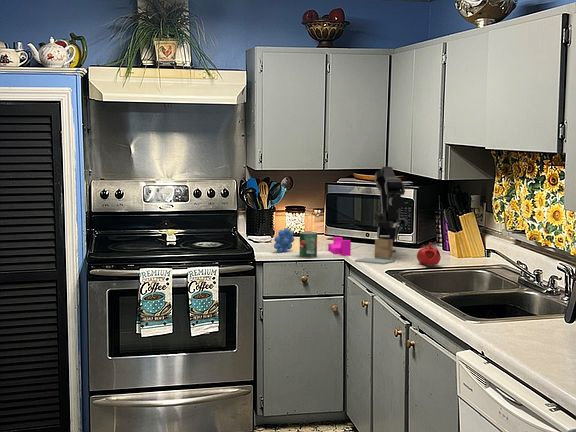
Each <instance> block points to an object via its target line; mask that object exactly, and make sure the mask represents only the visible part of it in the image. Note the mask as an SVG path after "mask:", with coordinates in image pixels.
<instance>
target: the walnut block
mask: <svg viewBox="0 0 576 432" xmlns="http://www.w3.org/2000/svg"><path fill="white" fill-rule="evenodd" d="M393 243H394V242H393V239H381V238H380V239H378V238H376V239H375V240H374V259H385V260H393V252H392V244H393Z"/></svg>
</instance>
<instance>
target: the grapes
mask: <svg viewBox="0 0 576 432" xmlns="http://www.w3.org/2000/svg"><path fill="white" fill-rule="evenodd" d="M293 235H294V231H293V230H290V229H289V228H288V227H285V228H284V229H280V230H278V232H277V235H276V236H274V242H275V243H274V244H273V248H274V249H275V250H276V253H278V254H281V253H287V252H288V250H291V249H292V248H293V244H292V243H294V242H295V237H294V236H293Z"/></svg>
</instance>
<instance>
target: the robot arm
mask: <svg viewBox="0 0 576 432" xmlns="http://www.w3.org/2000/svg"><path fill="white" fill-rule="evenodd" d="M374 182H375V186H376V188H377V189H378V190H379V192H380V193H379V194H380V196H379V197H380V208H381V213H380V212H376V213H374V214H373V220H374V221H375V223H377V230H376V239H393V243H395V241H396V239H398V235H399V233H400V231H401V229H402V228H403V226H408V225H409V220H408V219H407V218H403V217H400V216H401V215H400V213H402V208H403V207H404V205H405V200H404V197H402V196H403V195H405V192H406V189H405V185H404V183H403V181H402V180H401V178H399V177H397V176H396V175H395V173H394V168H393V166H381V167H380V169H379V170H377V171H375V174H374ZM400 225H403V226H400ZM393 247H394V245H393V244H392V253H393V252H396V251H397V250H395V249H393Z"/></svg>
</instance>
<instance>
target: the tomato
mask: <svg viewBox="0 0 576 432" xmlns="http://www.w3.org/2000/svg"><path fill="white" fill-rule="evenodd" d="M432 244H433V243H432V242H428V246H427V245H425V244H424V245H422V246H420V249H419V250H418V251H417V253H416V259H417V261H418V263H419V264H421V265H424V266H436V265H439V263H440V261H441V259H442V256H441V252H440V251H439V249H438V248H437V247H436V246H435V245H432Z"/></svg>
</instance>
